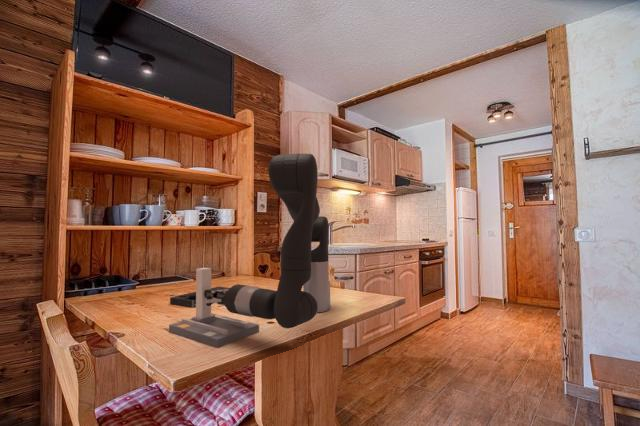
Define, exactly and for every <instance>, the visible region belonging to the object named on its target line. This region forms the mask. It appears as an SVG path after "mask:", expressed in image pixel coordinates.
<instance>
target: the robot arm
mask: <svg viewBox="0 0 640 426" xmlns="http://www.w3.org/2000/svg"><path fill="white" fill-rule="evenodd" d="M318 171H319V170H318V165H317V160H316V158H315V156H314V155H313V154H311V153H281V154H277V155H275V156H273V157H272V158H271V159H270V161H269V163H268V171H267V172H268V178H269V181H270V184H271V187H272V189H273V190H274V192H275V194H276V195H278V197H279V198H280V199H281V201H282V202H283V204H284V205H285V206H286V209H287V211H288V214H289V215H290V217H291V219H292V221H293V222H292V224H291V226H290V227H289V229H288V230H287V232H286V234H285V235H284V237H283V241H282V243H281V249H280V277H279V280H278V281H279V282H278V284H277V289H276V290H274V289H269V288H263V287H262V288H261V287H259V286H254V285H249V284H248V285H246V284H241V283H240V284H238V283H237V284H234V285H232V286H231V287H229V288H230V289H222V290H211V289H209V290H205V292H204V297H205V298H206V306H211V307H212V305H214V303H215V304H217V305H220V306H223V307H225V308H226V310H227V311H228V312H230V313H232V314H236V315H241V316H245V317H251V318H260V319H264V320H274V319H275V320H276V322H277V323H278V325H279V326H280V327H281V328H284V329H292V328H295V327H298V326H300V325H302V324H305V323H307V322H310V321H311V320H312V319H313V318H315V316H316V314H317V313H323V312H327V311H329V310H330V308H331V282H330V277H329V275H330V274H329V273H330V272H329V268H330V267H329V262H330V261H329V232H330V231H329V230H330V229H329V227H330V226H329V220H328V217H326V216H322V215H321V216H320V213H321V211H320V210H321V209H320V203H319V199H318V197H317V191H318V179H319V177H318ZM312 243H319V245H318V246H316V247H315V248H313V249H312Z"/></svg>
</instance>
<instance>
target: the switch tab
mask: <svg viewBox="0 0 640 426" xmlns="http://www.w3.org/2000/svg"><path fill="white" fill-rule="evenodd" d="M195 272H196V273H195V292H196V307H195V316H192V317H191V319H192V320H193V321H196V322H200V323H204V324H205V323H208V322H212V321H215V315H211V313H212V305H211V306H206V298H205V297H204V292H205V290H209V289H211V288H212V268H211V267H200V268H196V269H195Z"/></svg>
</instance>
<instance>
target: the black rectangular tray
mask: <svg viewBox="0 0 640 426" xmlns="http://www.w3.org/2000/svg"><path fill="white" fill-rule="evenodd" d="M230 288H231V287H226V286H215V287H211V290H222V289H230ZM169 305H171V306H176V307H177V306H178V307H184V308H190V309H193V308H196V291H193V292H188V293H184V294H180V295H175V296H170V297H169Z"/></svg>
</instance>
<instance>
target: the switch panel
mask: <svg viewBox="0 0 640 426" xmlns="http://www.w3.org/2000/svg"><path fill="white" fill-rule="evenodd" d="M211 315H215V321H212V322H208V323H205V324H204V323H200V322H196V321H193V320H192V318H189V319H188V318H185V317H184V318H181V321H179V322H175V323H170V324H169V325H168V332H169V333H171V334H175V335H178V336H180V337H184V338H186V339H190V340H192V341H196V342H197V343H198V342H199V343H202V344H204V345H206V346H207V345H208V346H210V347H213V348H217V349H218V348H220V347H223V346H225V345H228V344H230V343H233V342H236V341H238V340H241V339H243V338H246V337H249V336H251V335H254V334H257V333H259V332H260V324H258V323H254V322H249V321H246V320H241V319H237V318H232V317H228V316H223V315H220V314H215V313H212V312H211Z"/></svg>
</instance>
